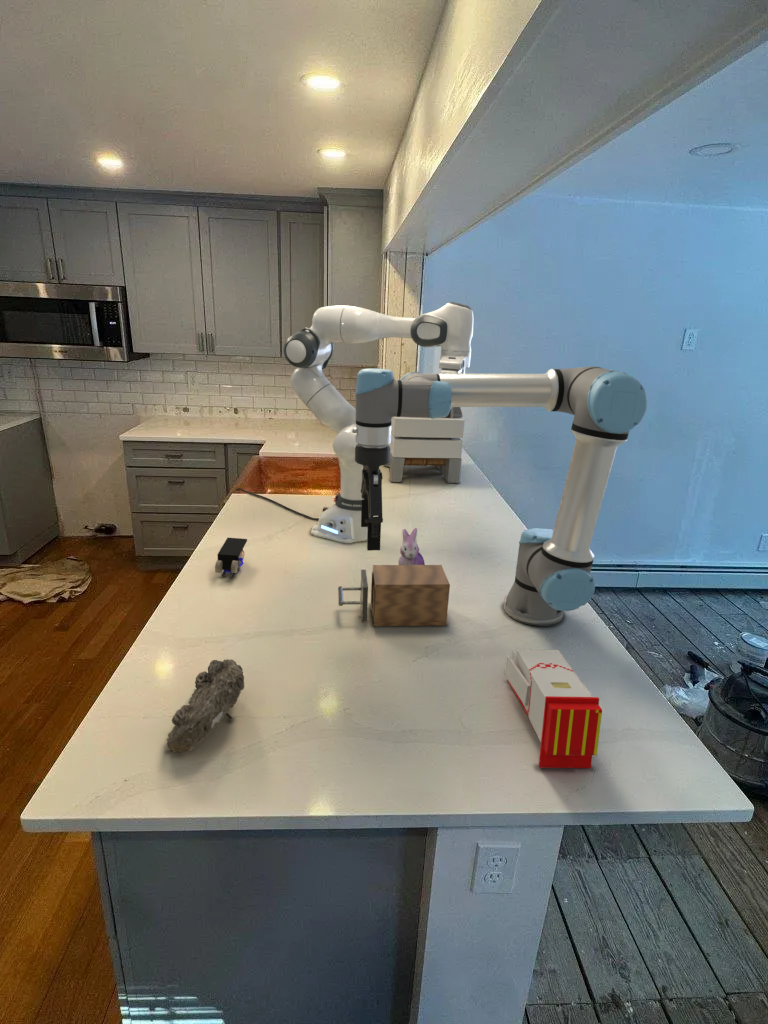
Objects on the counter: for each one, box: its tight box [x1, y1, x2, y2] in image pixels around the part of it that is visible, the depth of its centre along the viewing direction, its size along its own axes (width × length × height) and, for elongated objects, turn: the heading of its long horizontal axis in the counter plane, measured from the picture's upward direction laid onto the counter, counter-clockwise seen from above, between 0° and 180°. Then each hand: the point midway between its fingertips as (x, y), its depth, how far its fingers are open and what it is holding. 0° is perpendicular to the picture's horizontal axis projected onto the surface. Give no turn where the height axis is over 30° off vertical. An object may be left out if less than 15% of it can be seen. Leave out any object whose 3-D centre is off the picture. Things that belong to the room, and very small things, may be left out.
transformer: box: [383, 407, 465, 484], centre depth 268 cm, size 34×33×41 cm
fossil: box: [166, 658, 245, 754], centre depth 106 cm, size 22×10×15 cm
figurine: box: [398, 527, 426, 565], centre depth 166 cm, size 9×10×15 cm
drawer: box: [337, 569, 375, 622], centre depth 145 cm, size 23×10×10 cm, turn 95°
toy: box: [504, 648, 603, 769], centre depth 111 cm, size 12×13×30 cm
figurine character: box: [214, 537, 248, 578], centre depth 166 cm, size 7×8×15 cm
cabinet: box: [371, 564, 451, 627], centre depth 146 cm, size 18×11×12 cm, turn 95°
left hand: (451, 407), depth 173 cm, fingers open, 8 cm apart
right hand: (370, 537), depth 127 cm, fingers open, 13 cm apart
